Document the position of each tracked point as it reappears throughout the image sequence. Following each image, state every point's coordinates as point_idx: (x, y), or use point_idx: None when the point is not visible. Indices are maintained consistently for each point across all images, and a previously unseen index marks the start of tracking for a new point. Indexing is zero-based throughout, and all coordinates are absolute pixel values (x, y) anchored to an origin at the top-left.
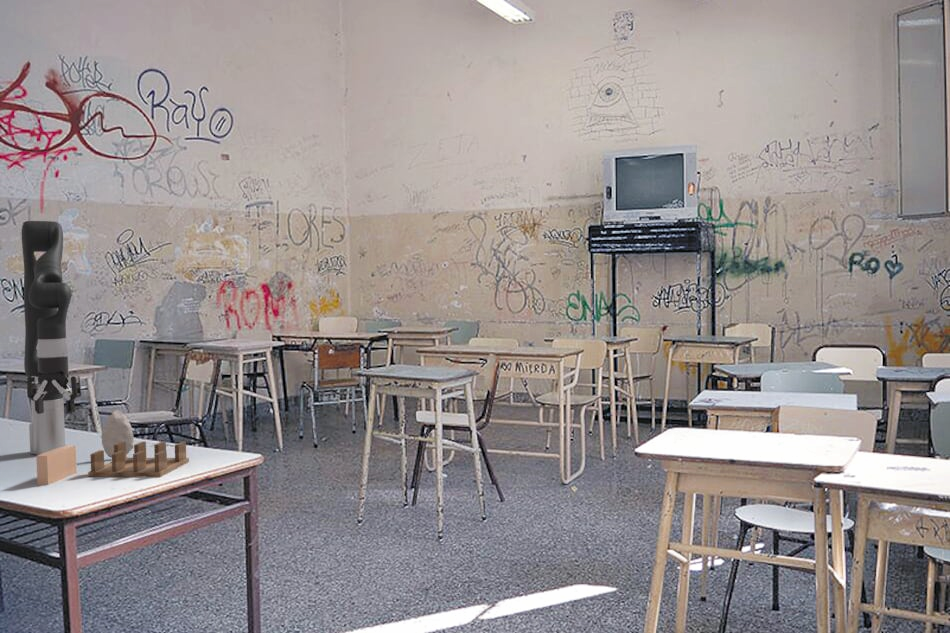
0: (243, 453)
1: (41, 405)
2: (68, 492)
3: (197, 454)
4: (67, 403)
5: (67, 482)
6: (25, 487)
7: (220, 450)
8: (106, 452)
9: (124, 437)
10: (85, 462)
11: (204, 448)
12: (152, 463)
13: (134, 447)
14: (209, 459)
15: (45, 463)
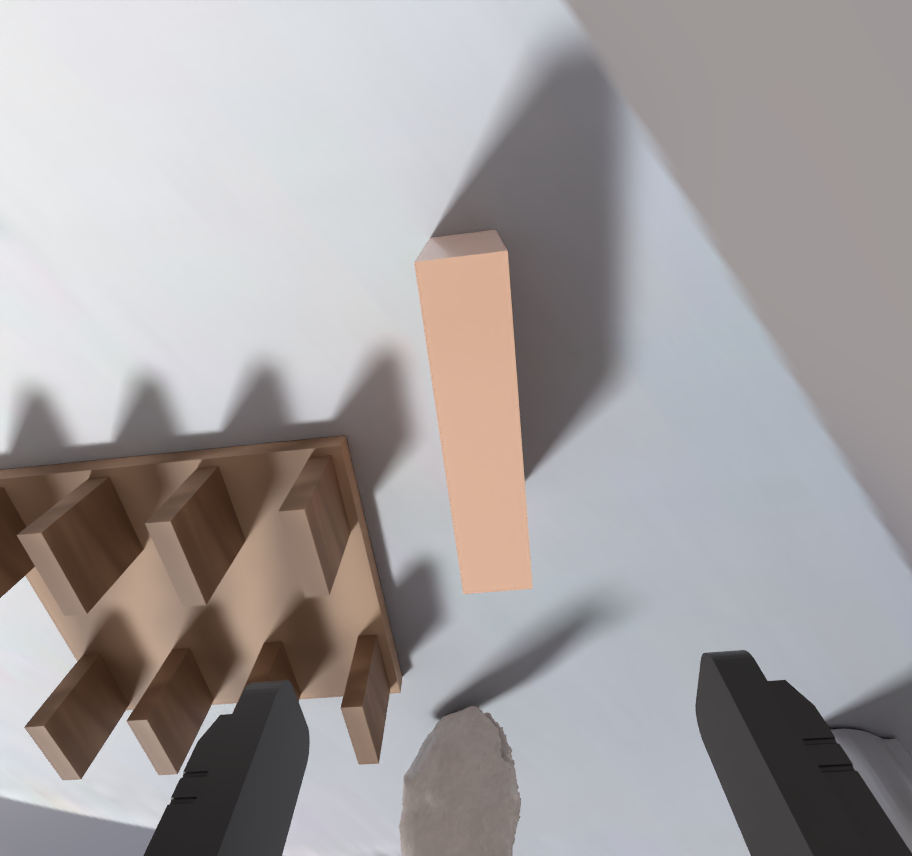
0: (38, 803)
1: (754, 812)
2: (156, 70)
3: None
4: (188, 845)
5: (359, 306)
6: (525, 151)
7: None
8: (490, 723)
9: (423, 816)
10: (555, 652)
11: None
12: (172, 622)
13: None
14: None
15: (432, 251)
